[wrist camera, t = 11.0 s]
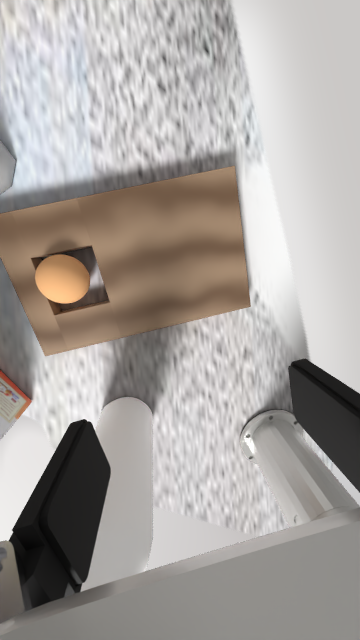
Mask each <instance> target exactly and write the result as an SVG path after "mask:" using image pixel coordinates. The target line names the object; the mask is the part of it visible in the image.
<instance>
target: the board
mask: <svg viewBox="0 0 360 640" xmlns="http://www.w3.org/2000/svg"><path fill="white" fill-rule="evenodd" d="M88 247H92V248H93V251H94V254H95V257H96V260H97V263H98V266H99V270H100V273H101V276H102V279H103V282H104V285H105V288H106V291H107V294H108V298H109V300H107V301H103V302H98V303H94V304H90V305H85V306H81V307H77V308H72V309H68V310H64V311H62V310H61V308H60V305H59V303H57V302H54V301H52V300H50V299H48V298H47V297H45V296H44V295H43V294H42V293H41V292H40V290H39V289H38V287H37V284H36V280H35V273H36V269H37V267H38V265H39V264H40V263H41V262H42V260H41V258H42V257H47V256H51V255H56V254H60V253H65V252H70V251H74V250H79V249H84V248H88ZM0 258H1V260H2V262H3V264H4V266H5V269H6V271H7V273H8V275H9V277H10V280H11V282H12V284H13V286H14V288H15V291H16V293H17V295H18V297H19V299H20V302H21V304H22V306H23V308H24V310H25V313H26V315H27V317H28V319H29V321H30V324H31V326H32V328H33V330H34V332H35V335H36V337H37V339H38V341H39V344H40V346H41V348H42V350H43V352H44V355H45V356H49V355H53V354H57V353H61V352H65V351H69V350H73V349H78V348H82V347H86V346H90V345H94V344H98V343H102V342H106V341H111V340H115V339H119V338H123V337H127V336H131V335H135V334H140V333H144V332H148V331H152V330H156V329H160V328H164V327H168V326H173V325H177V324H181V323H185V322H189V321H193V320H197V319H202V318H206V317H210V316H214V315H218V314H222V313H226V312H230V311H235V310H239V309H243V308H247V307H251V305H250V296H249V287H248V279H247V270H246V261H245V252H244V243H243V234H242V225H241V216H240V207H239V199H238V190H237V181H236V172H235V166H231V167H226V168H221V169H216V170H211V171H207V172H202V173H197V174H192V175H187V176H182V177H177V178H172V179H167V180H162V181H157V182H152V183H148V184H143V185H138V186H133V187H128V188H123V189H118V190H113V191H108V192H103V193H98V194H94V195H89V196H84V197H79V198H74V199H69V200H64V201H59V202H54V203H49V204H44V205H39V206H35V207H30V208H25V209H20V210H15V211H10V212H5V213H0Z"/></svg>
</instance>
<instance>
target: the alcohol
mask: <svg viewBox="0 0 360 640" xmlns="http://www.w3.org/2000/svg"><path fill="white" fill-rule="evenodd" d="M95 432H96V435H97V437H98V439H99V442H100V444H101V446H102V448H103V451H104V453H105V455H106V458H107V460H108V462H109V464H110V468H111V476H110V480H109V485H108V489H107V494H106V498H105V502H104V507H103V511H102V516H101V520H100V525H99V529H98V534H97V538H96V543H95V547H94V552H93V556H92V560H91V565H90V569H89V574H88V577H87V580H86V581H85V583H82V587H81V591H80V592H82V591H85V590H88V589H91V588H94V587H97V586H100V585H103V584H106V583H109V582H113V581H116V580H119V579H122V578H126V577H129V576H132V575H135V574H139V573H142V572H145V570H146V567H147V565H148V561H149V556H150V551H151V545H152V540H153V415H152V412H151V410H150V408H149V407H148V406H147V405H146V404H145V403H144V402H142V401H141V400H139V399H137V398H133V397H122V398H118V399H116V400H114V401H112V402H110V403H109V404H107V405H106V406H105V407H104V409H103V410H102V412H101V415H100V418H99V421H98V424H97V427H96V430H95Z"/></svg>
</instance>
